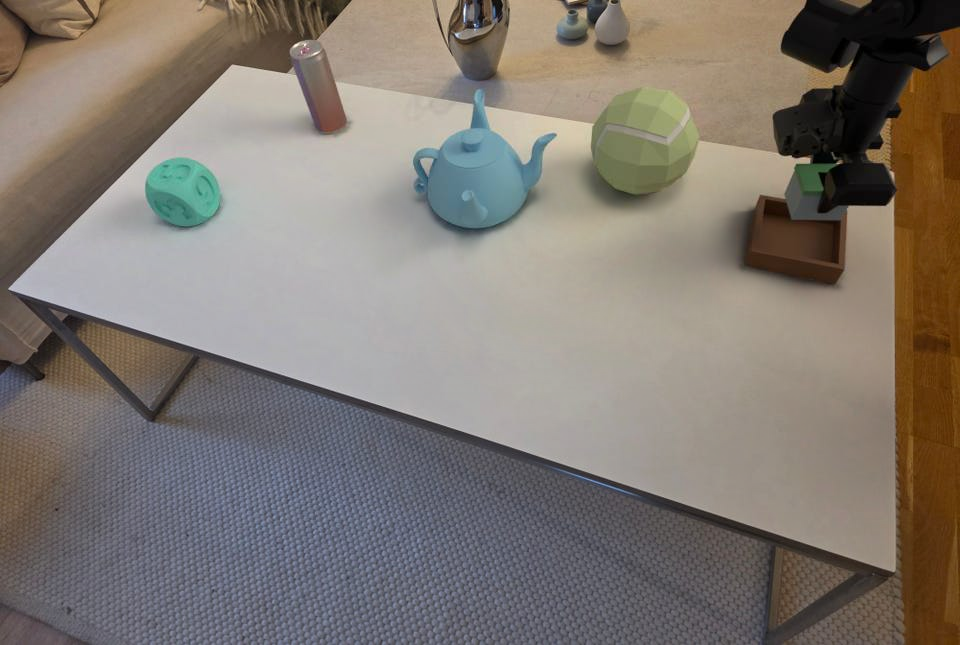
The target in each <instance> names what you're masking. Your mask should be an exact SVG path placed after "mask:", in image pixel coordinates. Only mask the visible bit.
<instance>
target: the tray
mask: <svg viewBox="0 0 960 645" xmlns="http://www.w3.org/2000/svg"><path fill="white" fill-rule="evenodd" d="M847 227H848V209H847V210H846V212H845V214H844V215H843V217H842V219H841V220H792V219H791V216H790V212H789V209H788V205H787V202H786V198H781V197H776V196H770V195H766V194H759V197H758V199H757V201H756V204H755V206H754V209H753V212H752V220H751V225H750V231H749V237H748V243H747V248H746V255H745V260H744V267H749V268H752V269H753V268H754V269H759V270H763V271H769V272H773V273H777V274H783V275H786V276H787V275H788V276H792V277H797V278H800V279H801V278H802V279H806V280H812V281H815V282H819V283H826V284H832V285H836V284H837V283H838V281H839V279H840V278H841V277H842V274H843V273H844V271H845V270H846V251H847V250H846V249H847V248H846V247H847V231H848V230H847Z"/></svg>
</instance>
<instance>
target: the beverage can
mask: <svg viewBox="0 0 960 645" xmlns="http://www.w3.org/2000/svg"><path fill="white" fill-rule="evenodd" d="M289 55H290V62H291V64H292V68H293V71H294V72H295V75H296V78H297V81H298V84H299V86H300V89H301V91H302V95H303V97H304V101H305V102H306V105H307V108H308V111H309V114H310V117H311V119H312V122H313V124H314V128H315V129H316V130H317V131H318V132H319V133H322V134H325V135H326V134H327V135H330V134H331V135H332V134H335V133H339V132H341V130H343V129H344V128H345V126H346V125H347V124H346V123H347V116H346V112H345V109H344V105H343V102H342V99H341V95H340V93H339V90H338V87H337V86H338V85H337V83H336V80H335V77H334V73H333V71H332V68H331V64H330V61H329V58H328V54H327V51H326V49H325V48H324V46H323V43H322V42H321V41H319V40H316V39H306V40H305V39H304V40H301V41H299V42H296V43H294V44H293V45H292V46H291V47H290V49H289Z"/></svg>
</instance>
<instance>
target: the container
mask: <svg viewBox="0 0 960 645" xmlns="http://www.w3.org/2000/svg"><path fill="white" fill-rule="evenodd" d="M838 164H839V163H836V164H810V163H796V164H795V165H794V167H793V169H794V171H793V173H792V175H791V177H790V179H789V182H788V183H787V186H786V189H785V190H784V193H783V194H784V199H786V202H787V205H788V209H789V212H790V216H791V219H792V220H841V219H842V217H843V215H844V214H845V212H846V210H847V211H848V208H849V206H837V207H836V208H834V209H832V210H831V211H829V212H828V213H818V212H817V209H818V205H819V201H820V198H821V195H822V192H823V189H824V188H823V186H822V184H821V181H820V178H819V175H818V172H828V171H829V169H831V168H833V167H835V166H837V165H838Z"/></svg>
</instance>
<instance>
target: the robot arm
mask: <svg viewBox="0 0 960 645" xmlns="http://www.w3.org/2000/svg"><path fill="white" fill-rule="evenodd" d="M958 28H960V0H871V1H869V2H868V3H866V4H864V5H862V6H861V7H859V6H856V5H853V4H851V3H848V2H845V1H843V0H806V1H805V4H804V7H803V8H802V9H801V10H800V11H799V12H798V13H797V15H795V17H794V19H793V20H792V22H791V23H790V24H789V26H788V28H787V29H786V30H785V32H784V33H783V36H782V38H781V43H780V52H781V53H782V54H783V55H785V56H786V57H789V58H791V59H794V60H796V61H798V62H799V63H803V64H805V65H807V66H808V67H811V68H813V69H816V70H818V71H820V72H822V73H825V74H831V73H832V72H834V71H835V70H837V69H838V68H839V69H844V68H847V67H848V65H850V66H849V68H848V71H847V73H846V75H845V77H844V80H843V81H842V83H841V84H834V85H833V86H832V87H829V88H828V87H824V88H823V87H821V88H814V87H813V88H811V89H810V90H808V91H807V92H805V93H803V94H802V96H801V97H800V100H799V102H798V104H796V105H793V106H788V107H785V108H782V109H781V108H780V109H779V110H776V111H774V113H773V114H772V118H771V119H772V129H773V138H774V141H775V145H776V147H777V153H778V154H779V155H780V156H782V157H790V156H791V158H793V159H796V160H797V159H801V158H805V157H809V156H810V158H809V160H810V161H809V164H838V165H837V166H835V167H833V168H831V169H829V171H828V172H818V175H819V178H820V181H821V184H822V186H823V188H824V189H823V192H822V195H821V198H820V201H819V205H818V209H817V212H818V213H828V212H829V211H831V210H832V209H834V208H836V207H837V206H848V207H886V206H888V205H889V204H891V201H892V200H893V198H894V196H895V195H896V193H897V192H898V187H897V186H896V185H897V184H896V183H895V181H894V179H893V176H892V174H891V171H890V169H889V168H888V167H887V165H886V164H885V163H884V162H875V161H873V160H870V159H869V156H868V154H867V151H868V150H869V151H870V150H872V151H873V150H874V151H875V150H879V151H880V150H881V148H882V147H883V145H884V143H885V141H884V139H883V137H882V134H881V132H882V130H883V128H884V127H885V124H886V123H887V121H888V120H889V119H898V118H899V117H900V115H901V113H902V111H903V109H902V107H901V105H900V104H899V100H900V98H901V95H902V93H903V92H904V89H905V88H906V86H907V85H908V82H909V81H910V78H912V75H913V73H914V72H915V70H916V69H917V70H920V71H922V72H928V71H930V70H932V69H933V68H935V66H937V65H939V64H941V62H943V61H944V60H946V59H947V58H949V56H950V52H949V50H948V48H947V46H946V45H945V43H944V42H943V41H942V35H941V33H944V32H948V31H951V30H954V29H955V30H956V29H958ZM929 35H931V36H929ZM839 161H841V162H840V163H838V162H839Z"/></svg>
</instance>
